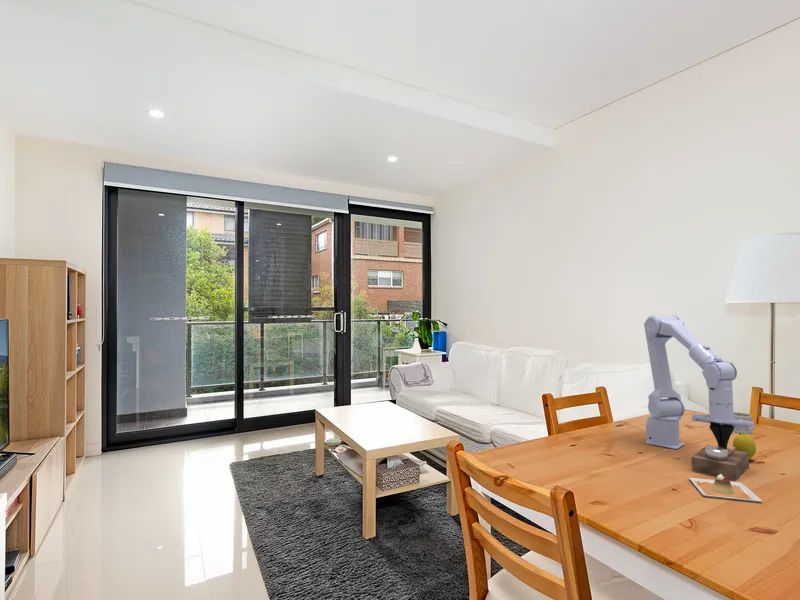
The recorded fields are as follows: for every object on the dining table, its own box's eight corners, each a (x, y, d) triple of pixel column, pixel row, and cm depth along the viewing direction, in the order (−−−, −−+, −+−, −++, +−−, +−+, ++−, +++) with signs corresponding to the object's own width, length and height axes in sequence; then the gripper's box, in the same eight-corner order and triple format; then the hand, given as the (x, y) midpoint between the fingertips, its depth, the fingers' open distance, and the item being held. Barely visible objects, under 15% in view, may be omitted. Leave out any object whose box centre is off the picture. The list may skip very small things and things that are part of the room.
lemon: (760, 463, 128) (759, 436, 128) (739, 462, 129) (738, 435, 130) (749, 457, 134) (748, 431, 134) (729, 456, 135) (728, 430, 135)
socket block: (692, 470, 123) (691, 456, 123) (707, 458, 134) (707, 445, 134) (735, 480, 115) (735, 465, 116) (748, 466, 126) (748, 452, 126)
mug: (757, 434, 158) (756, 416, 158) (738, 434, 158) (738, 416, 159) (736, 427, 168) (735, 410, 168) (718, 427, 168) (718, 410, 169)
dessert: (741, 486, 113) (740, 468, 113) (763, 506, 102) (762, 485, 102) (688, 481, 117) (687, 463, 117) (703, 499, 106) (702, 479, 106)
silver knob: (703, 470, 122) (702, 448, 122) (708, 465, 126) (707, 444, 126) (725, 475, 118) (725, 453, 118) (730, 470, 122) (729, 448, 122)
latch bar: (719, 447, 131) (719, 444, 131) (735, 450, 128) (735, 447, 128) (711, 452, 126) (711, 449, 126) (728, 455, 123) (728, 452, 123)
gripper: (687, 401, 129) (689, 447, 129) (749, 408, 119) (751, 458, 118) (695, 398, 134) (696, 442, 134) (754, 405, 123) (756, 453, 123)
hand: (723, 449), depth 126 cm, fingers closed, pressing on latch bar
